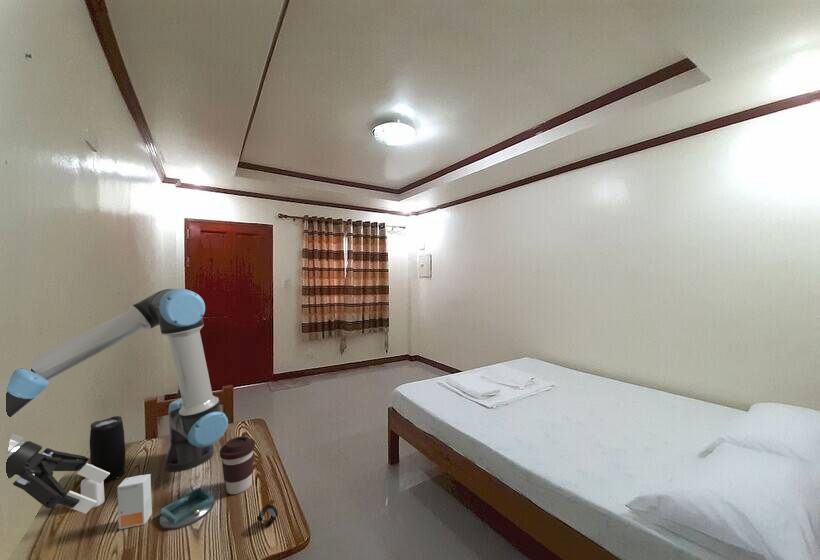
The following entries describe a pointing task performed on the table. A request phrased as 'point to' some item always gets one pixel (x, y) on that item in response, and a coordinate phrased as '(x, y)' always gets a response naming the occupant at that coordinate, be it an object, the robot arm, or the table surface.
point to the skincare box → (134, 501)
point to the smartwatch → (272, 512)
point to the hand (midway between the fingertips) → (99, 491)
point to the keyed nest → (187, 510)
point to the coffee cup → (238, 464)
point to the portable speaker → (108, 446)
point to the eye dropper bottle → (93, 490)
